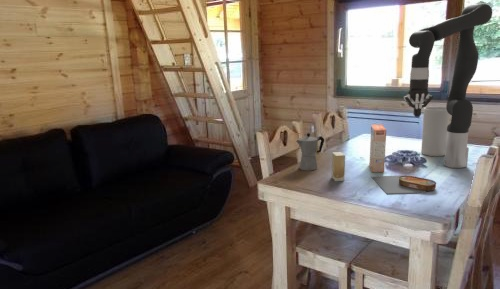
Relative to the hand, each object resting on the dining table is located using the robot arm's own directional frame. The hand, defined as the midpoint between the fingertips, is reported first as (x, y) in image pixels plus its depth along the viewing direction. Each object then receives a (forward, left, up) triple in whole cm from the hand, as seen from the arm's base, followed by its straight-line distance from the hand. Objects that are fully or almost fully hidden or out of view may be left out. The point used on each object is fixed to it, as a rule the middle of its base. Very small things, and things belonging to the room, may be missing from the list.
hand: (416, 116), depth 179 cm
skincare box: (+36, +4, -27) cm, 45 cm away
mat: (+13, +14, -27) cm, 33 cm away
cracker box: (+14, -10, -27) cm, 32 cm away
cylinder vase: (-24, -33, -27) cm, 49 cm away
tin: (+3, +15, -26) cm, 30 cm away
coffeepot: (+46, -15, -27) cm, 55 cm away
